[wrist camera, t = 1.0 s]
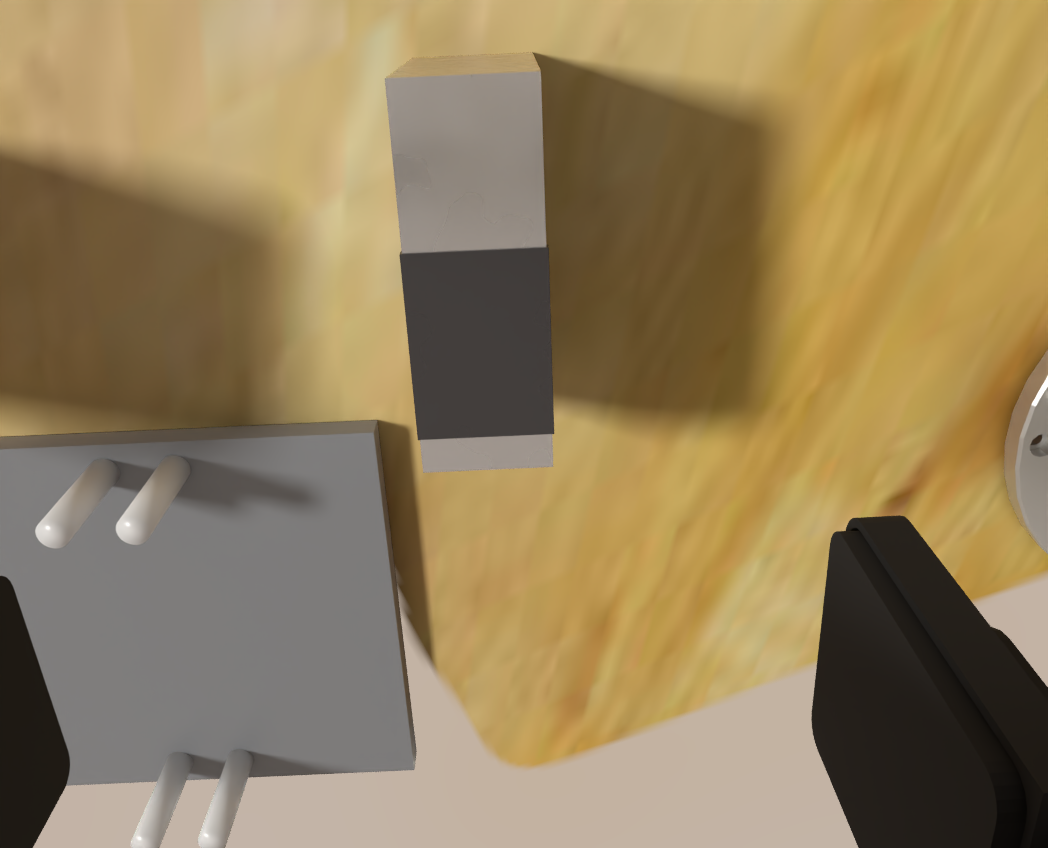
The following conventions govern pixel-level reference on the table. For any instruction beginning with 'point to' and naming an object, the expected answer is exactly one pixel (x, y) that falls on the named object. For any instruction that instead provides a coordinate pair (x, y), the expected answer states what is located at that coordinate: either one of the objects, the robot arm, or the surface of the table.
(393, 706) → the pin tray
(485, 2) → the table surface
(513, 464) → the block
